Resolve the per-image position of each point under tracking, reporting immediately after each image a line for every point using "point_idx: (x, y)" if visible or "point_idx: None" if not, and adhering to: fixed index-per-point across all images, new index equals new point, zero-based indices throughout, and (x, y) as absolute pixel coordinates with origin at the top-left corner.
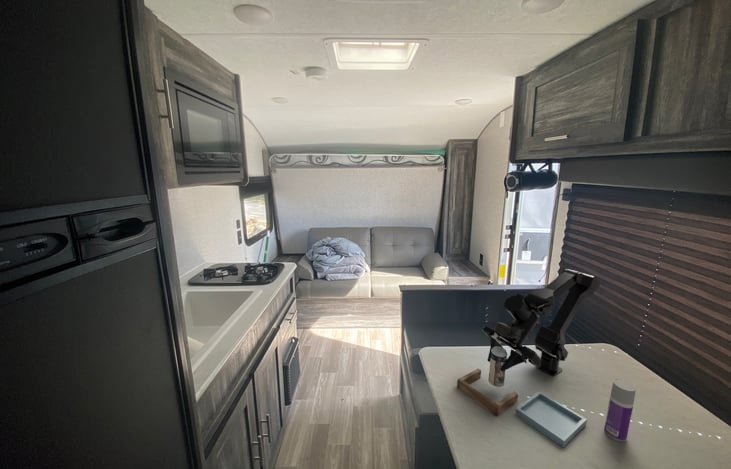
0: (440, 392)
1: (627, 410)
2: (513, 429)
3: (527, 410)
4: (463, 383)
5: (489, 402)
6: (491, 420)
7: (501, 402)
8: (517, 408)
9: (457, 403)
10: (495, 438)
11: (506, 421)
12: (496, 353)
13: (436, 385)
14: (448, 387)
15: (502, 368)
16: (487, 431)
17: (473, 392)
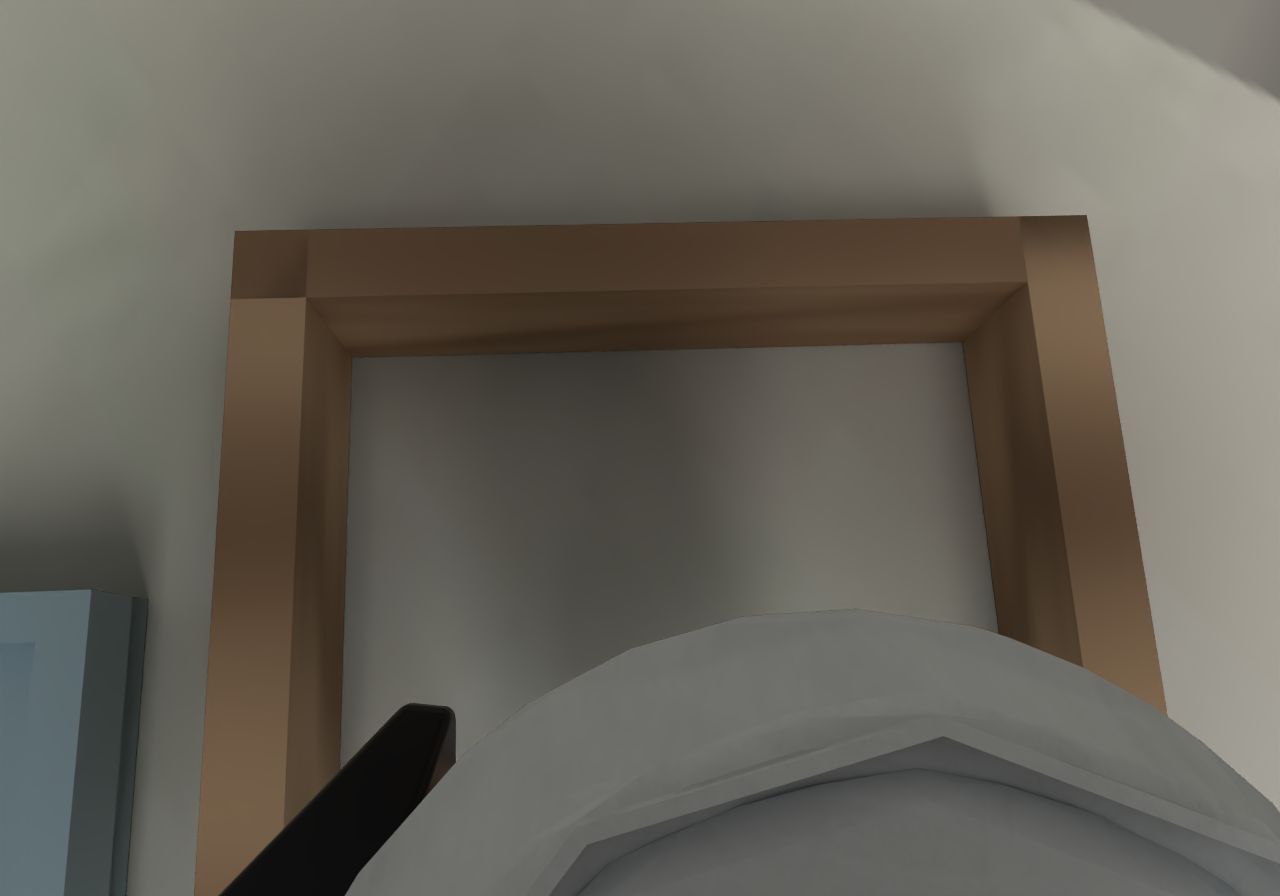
0: (1030, 14)
1: None
2: (16, 314)
3: (14, 825)
4: (949, 219)
5: (386, 229)
6: (293, 195)
7: (260, 405)
8: (62, 605)
9: (755, 53)
10: (96, 7)
11: (153, 355)
12: (757, 709)
13: (1175, 65)
14: (1067, 179)
15: (375, 742)
16: (218, 12)
17: (715, 234)
